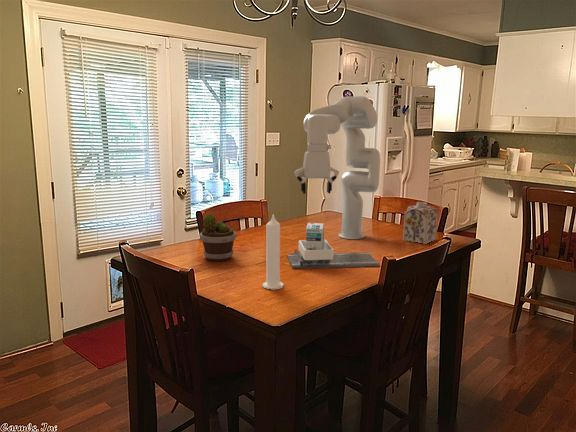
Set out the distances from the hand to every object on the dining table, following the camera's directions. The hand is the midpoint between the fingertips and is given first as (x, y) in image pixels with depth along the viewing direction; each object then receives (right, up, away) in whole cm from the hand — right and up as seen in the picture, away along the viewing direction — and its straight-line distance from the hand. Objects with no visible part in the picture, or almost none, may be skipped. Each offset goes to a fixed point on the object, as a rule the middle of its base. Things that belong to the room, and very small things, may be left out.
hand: (316, 193), depth 186 cm
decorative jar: (+51, -21, +40) cm, 68 cm away
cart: (0, -26, +5) cm, 26 cm away
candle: (-16, -33, -22) cm, 43 cm away
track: (+7, -27, +6) cm, 29 cm away
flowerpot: (-39, -26, +10) cm, 48 cm away
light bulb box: (0, -23, +5) cm, 24 cm away
